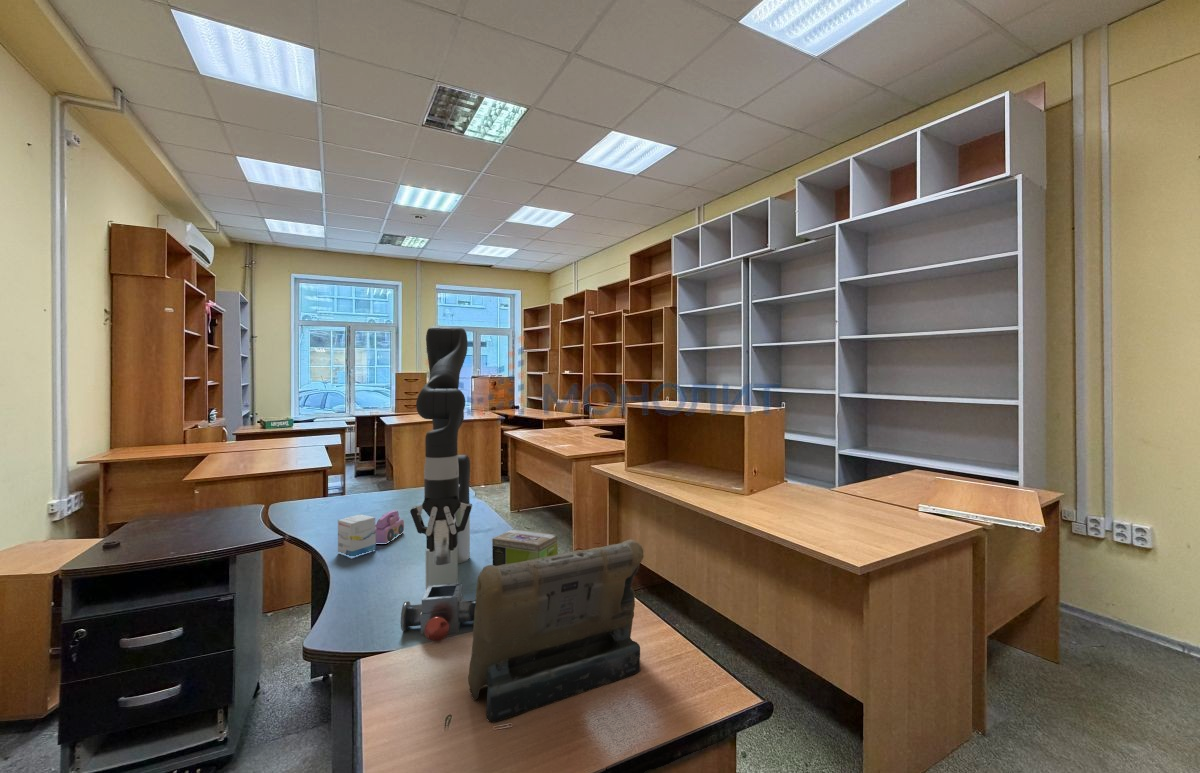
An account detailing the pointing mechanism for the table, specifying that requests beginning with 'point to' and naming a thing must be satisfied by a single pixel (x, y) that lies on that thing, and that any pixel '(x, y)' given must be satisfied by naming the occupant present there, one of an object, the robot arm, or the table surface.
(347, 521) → the ink box
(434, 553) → the pipe stub
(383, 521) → the pink toy car
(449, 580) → the external hard drive
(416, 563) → the table surface
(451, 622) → the valve body
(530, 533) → the tea box
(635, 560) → the tablet
